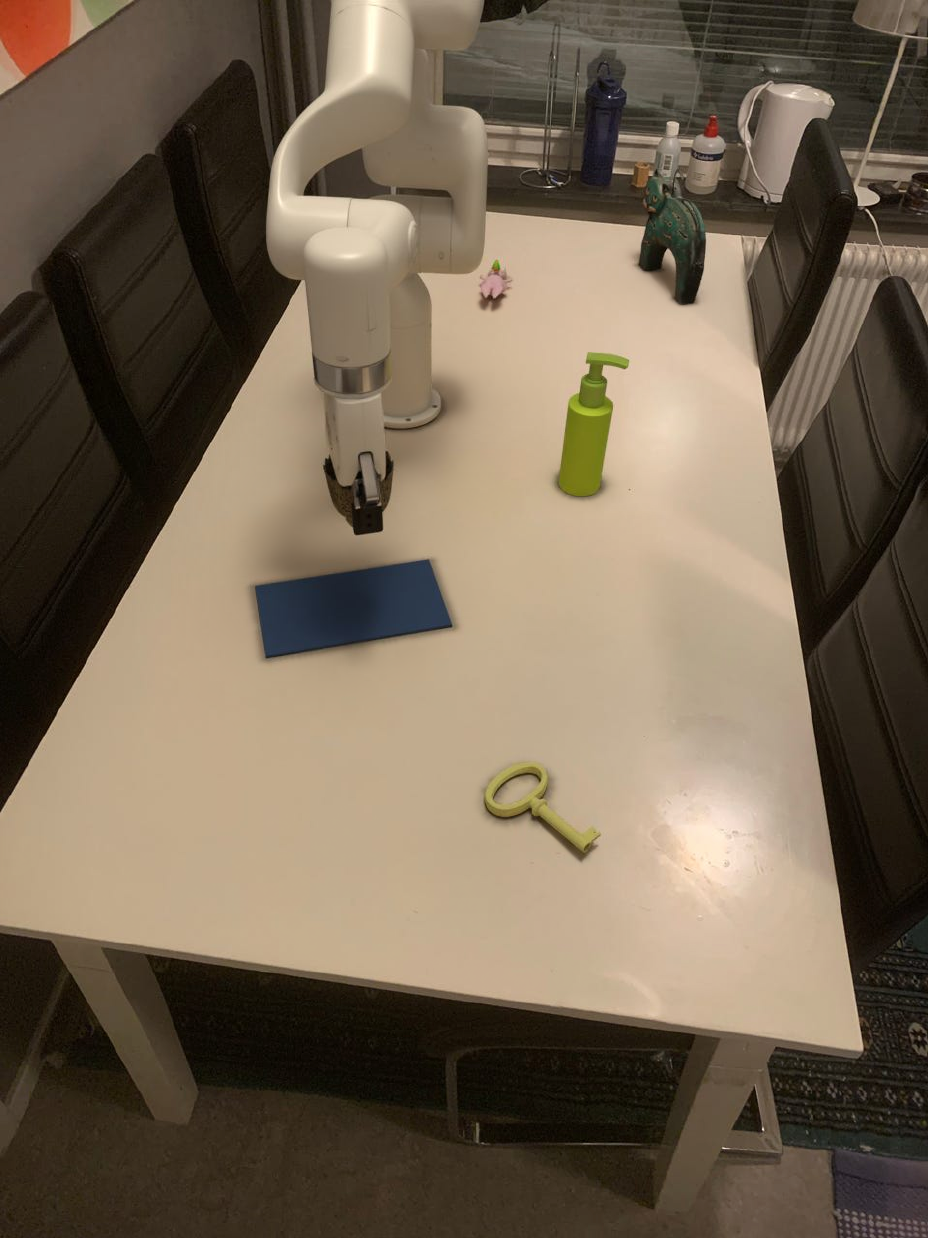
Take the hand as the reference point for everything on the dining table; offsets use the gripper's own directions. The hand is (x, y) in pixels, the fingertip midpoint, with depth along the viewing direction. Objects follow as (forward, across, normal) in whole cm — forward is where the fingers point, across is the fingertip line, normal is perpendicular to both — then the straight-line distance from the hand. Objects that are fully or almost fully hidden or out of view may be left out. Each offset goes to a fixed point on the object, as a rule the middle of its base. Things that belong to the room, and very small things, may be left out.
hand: (361, 509), depth 101 cm
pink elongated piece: (+15, -76, +38) cm, 86 cm away
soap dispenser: (+15, -17, +34) cm, 41 cm away
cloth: (+15, 0, -2) cm, 15 cm away
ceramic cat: (+15, -74, +72) cm, 104 cm away
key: (+15, +33, +11) cm, 38 cm away
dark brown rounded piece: (+2, 0, 0) cm, 2 cm away
